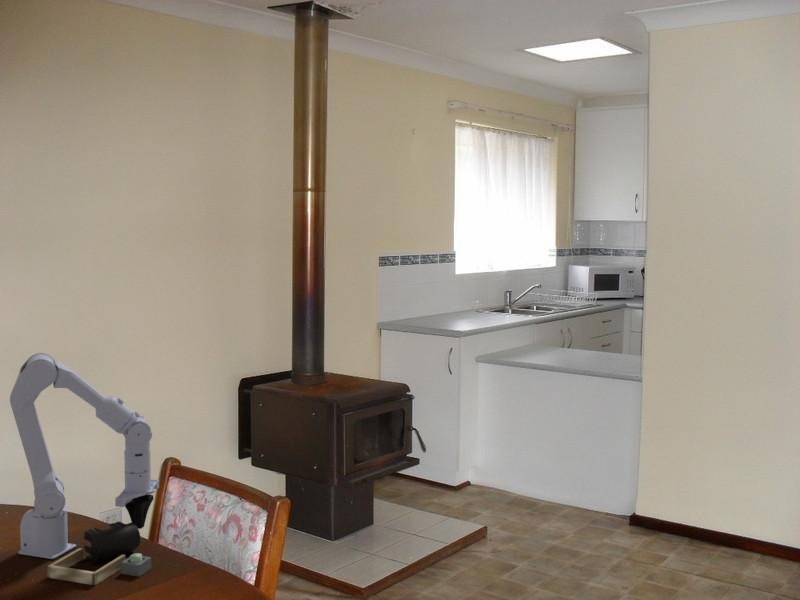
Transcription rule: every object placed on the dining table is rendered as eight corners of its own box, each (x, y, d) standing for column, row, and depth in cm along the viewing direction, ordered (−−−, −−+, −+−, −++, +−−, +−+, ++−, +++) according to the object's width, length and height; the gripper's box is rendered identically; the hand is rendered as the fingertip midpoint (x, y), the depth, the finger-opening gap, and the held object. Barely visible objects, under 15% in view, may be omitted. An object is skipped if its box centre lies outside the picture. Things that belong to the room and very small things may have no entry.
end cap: (99, 568, 183) (99, 537, 182) (82, 559, 188) (82, 529, 187) (141, 554, 191) (140, 525, 190) (123, 546, 195) (123, 517, 195)
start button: (128, 571, 181) (127, 556, 181) (134, 567, 183) (134, 552, 183) (137, 572, 180) (137, 558, 180) (144, 568, 183) (144, 554, 182)
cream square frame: (47, 577, 178) (47, 566, 177) (79, 558, 188) (79, 548, 187) (95, 585, 174) (95, 574, 174) (125, 565, 184) (125, 555, 184)
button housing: (121, 573, 180) (121, 562, 180) (133, 565, 184) (133, 554, 184) (139, 576, 179) (139, 565, 179) (151, 568, 183) (151, 557, 183)
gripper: (134, 481, 189) (135, 540, 190) (170, 463, 203) (170, 518, 204) (106, 477, 191) (107, 536, 192) (144, 460, 205) (144, 515, 206)
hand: (138, 527), depth 198 cm, fingers closed
